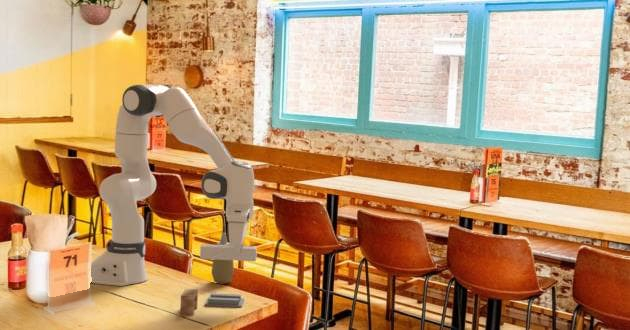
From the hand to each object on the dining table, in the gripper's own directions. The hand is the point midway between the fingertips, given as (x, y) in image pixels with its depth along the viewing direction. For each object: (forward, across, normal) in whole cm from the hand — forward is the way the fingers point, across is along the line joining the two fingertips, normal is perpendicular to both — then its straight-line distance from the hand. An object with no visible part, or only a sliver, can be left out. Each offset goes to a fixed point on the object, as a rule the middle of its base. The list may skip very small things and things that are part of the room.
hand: (238, 253), depth 243 cm
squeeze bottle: (+17, -25, -8) cm, 31 cm away
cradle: (+17, 0, -4) cm, 17 cm away
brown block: (+17, +10, -14) cm, 24 cm away
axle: (+2, 0, -3) cm, 4 cm away
